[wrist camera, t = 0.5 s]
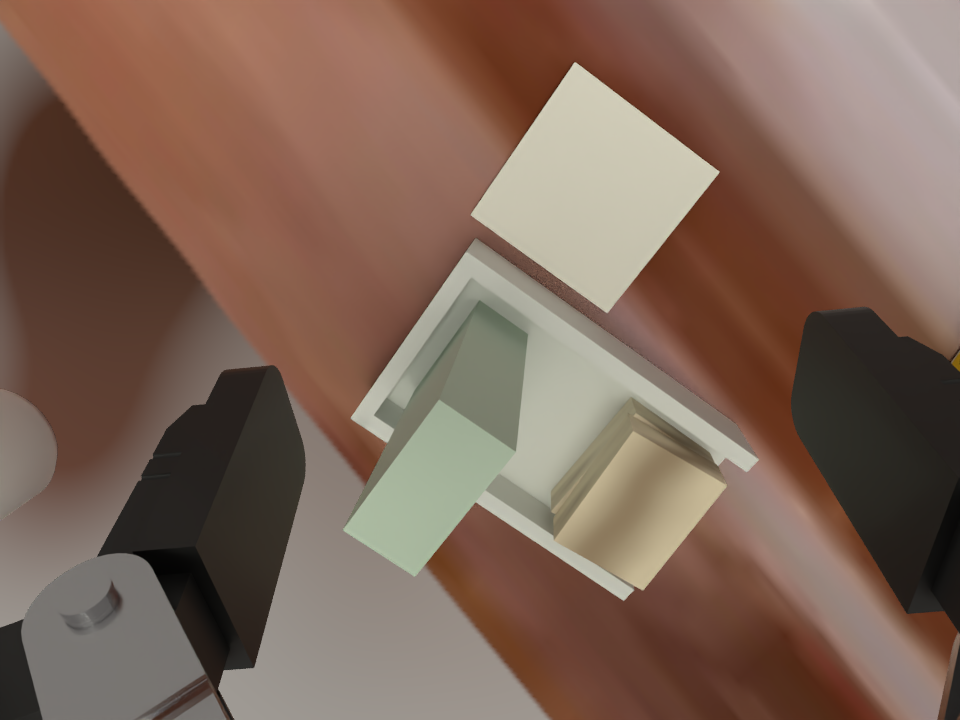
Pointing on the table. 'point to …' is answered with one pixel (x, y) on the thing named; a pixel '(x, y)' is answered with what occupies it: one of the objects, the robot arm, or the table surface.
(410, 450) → the board
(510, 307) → the tray
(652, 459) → the offcut upper
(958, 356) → the medicine bottle
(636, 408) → the offcut lower
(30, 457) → the alcohol
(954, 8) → the table surface
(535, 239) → the pad
